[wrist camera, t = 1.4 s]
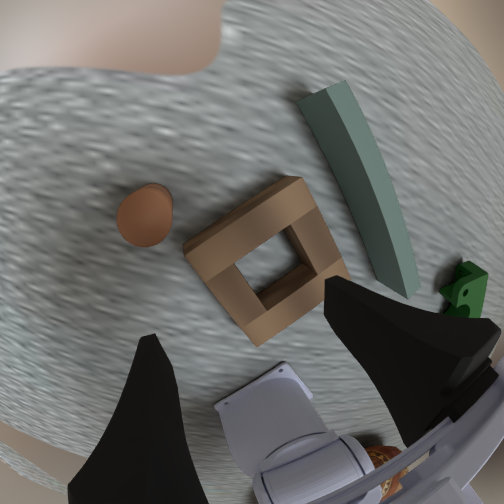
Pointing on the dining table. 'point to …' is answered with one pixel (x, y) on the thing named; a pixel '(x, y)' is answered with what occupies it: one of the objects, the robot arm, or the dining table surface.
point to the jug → (378, 458)
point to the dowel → (146, 215)
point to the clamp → (466, 291)
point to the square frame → (254, 234)
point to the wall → (363, 184)
